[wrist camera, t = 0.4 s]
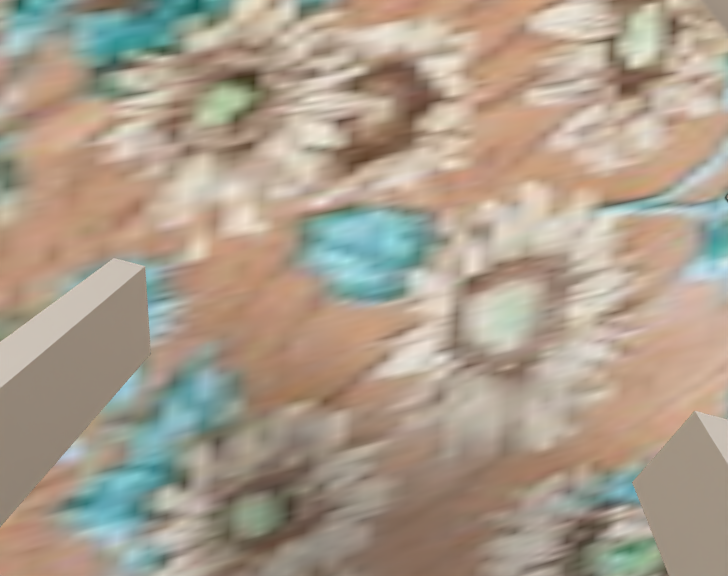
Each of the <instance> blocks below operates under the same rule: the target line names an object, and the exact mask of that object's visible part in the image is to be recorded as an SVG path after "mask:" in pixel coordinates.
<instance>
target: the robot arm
mask: <svg viewBox="0 0 728 576" xmlns="http://www.w3.org/2000/svg"><path fill="white" fill-rule="evenodd" d="M150 354H151V349H150V334H149V319H148V304H147V289H146V274H145V266H142V265H138V264H134V263H130V262H127V261H123V260H119V259H115V258H113V259H112V260H111V261H109V262H108V263H107V264H105V265H104V266H103V267H101V268H100V269H99V270H97V271H96V272H95V273H93V274H92V275H90V276H89V277H88V278H86V279H85V280H84V281H82V282H81V283H80V284H78V285H77V286H76V287H74V288H73V289H71V290H70V291H69V292H67V293H66V294H65V295H63V296H62V297H61V298H59V299H58V300H57V301H55V302H54V303H53V304H51V305H50V306H48V307H47V308H46V309H44V310H43V311H42V312H40V313H39V314H38V315H36V316H35V317H34V318H32V319H31V320H29V321H28V322H27V323H25V324H24V325H23V326H21V327H20V328H19V329H17V330H16V331H15V332H13V333H12V334H11V335H9V336H8V337H6V338H5V339H4V340H2V341H1V342H0V527H1V526H2V524H3V523H4V522H5V521H6V520H7V519H8V518H9V516H10V515H11V514H12V513H13V512H14V511H15V509H16V508H17V507H18V506H19V505H20V504H21V503H22V501H23V500H24V499H25V498H26V497H27V496H28V495H29V493H30V492H31V491H32V490H33V489H34V488H35V486H36V485H37V484H38V483H39V482H40V481H41V480H42V478H43V477H44V476H45V475H46V474H47V473H48V471H49V470H50V469H51V468H52V467H53V466H54V465H55V463H56V462H57V461H58V460H59V459H60V458H61V456H62V455H63V454H64V453H65V452H66V451H67V450H68V448H69V447H70V446H71V445H72V444H73V443H74V441H75V440H76V439H77V438H78V437H79V436H80V435H81V433H82V432H83V431H84V430H85V429H86V428H87V427H88V425H89V424H90V423H91V422H92V421H93V420H94V418H95V417H96V416H97V415H98V414H99V413H100V412H101V410H102V409H103V408H104V407H105V406H106V405H107V403H108V402H109V401H110V400H111V399H112V398H113V397H114V395H115V394H116V393H117V392H118V391H119V390H120V388H121V387H122V386H123V385H124V384H125V383H126V382H127V380H128V379H129V378H130V377H131V376H132V375H133V374H134V372H135V371H136V370H137V369H138V368H139V367H140V365H141V364H142V363H143V362H144V361H145V360H146V359H147V357H148V356H149V355H150ZM632 483H633V486H634V488H635V491H636V493H637V496H638V498H639V501H640V503H641V506H642V508H643V511H644V513H645V516H646V519H647V521H648V524H649V526H650V529H651V531H652V534H653V536H654V539H655V541H656V544H657V546H658V549H659V551H660V554H661V557H662V559H663V562H664V564H665V567H666V569H667V572H668V574H669V576H728V419H724V418H720V417H716V416H712V415H709V414H705V413H701V412H697V411H694V412H693V413H692V414H691V416H690V417H689V418H688V419H687V420H686V421H685V422H684V424H683V425H682V426H681V427H680V428H679V429H678V430H677V432H676V433H675V434H674V435H673V436H672V437H671V438H670V440H669V441H668V442H667V443H666V444H665V445H664V446H663V448H662V449H661V450H660V451H659V452H658V453H657V455H656V456H655V457H654V458H653V459H652V460H651V461H650V463H649V464H648V465H647V466H646V467H645V468H644V469H643V471H642V472H641V473H640V474H639V475H638V476H637V477H636V479H635V480H634V481H633V482H632Z"/></svg>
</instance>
